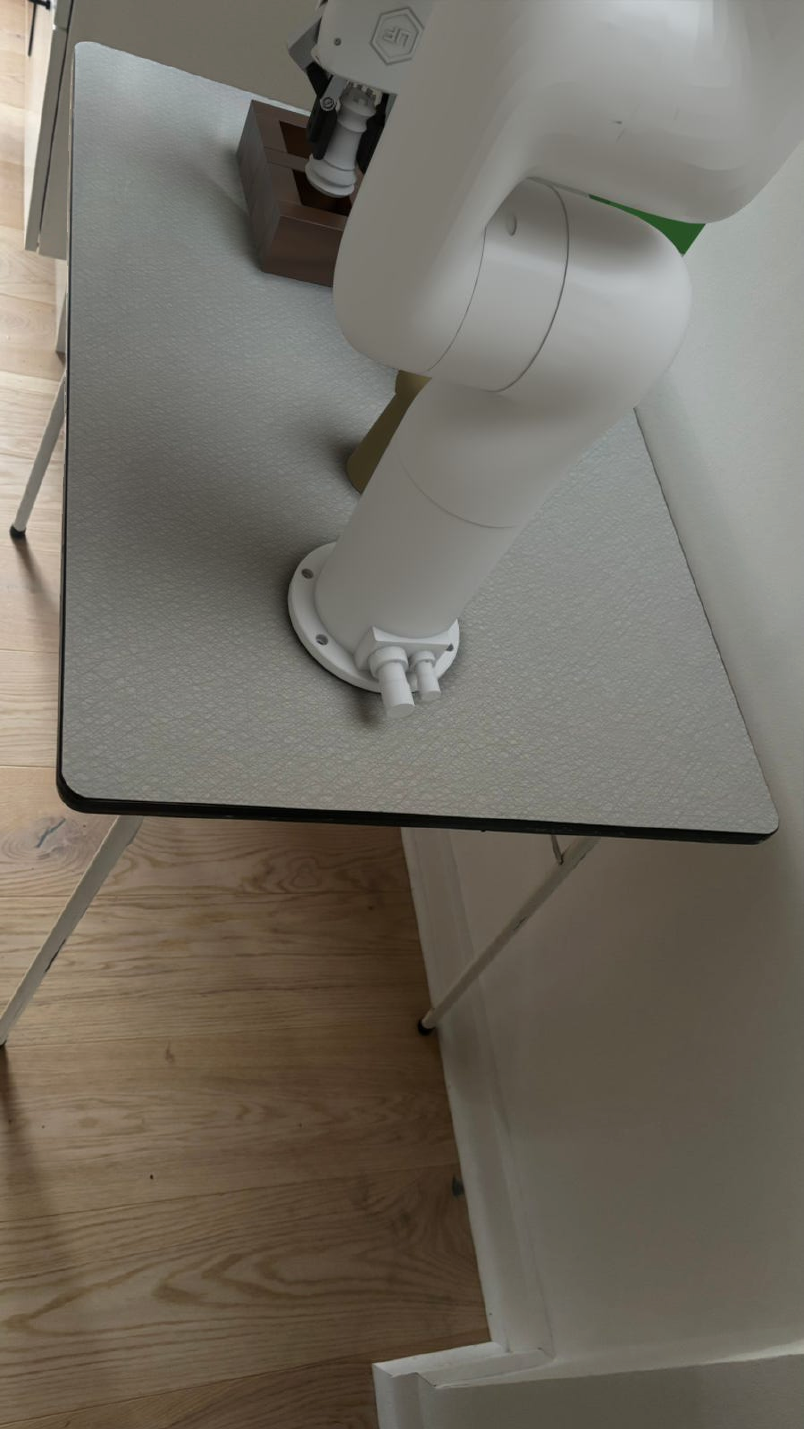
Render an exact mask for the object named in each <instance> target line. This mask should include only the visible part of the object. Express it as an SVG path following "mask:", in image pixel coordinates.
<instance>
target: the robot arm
mask: <svg viewBox="0 0 804 1429" xmlns="http://www.w3.org/2000/svg"><path fill="white" fill-rule="evenodd" d="M285 45H286V49H287V52H288V55H289V56H290V58H291V59H292V61H294V63H295V64H296V65H297V66H298V67H299V69H300V70H301V71H302V72H303V73H304V74H305V75H306V76H307V79H308V81H309V83H310V85H311V87H312V90H313V92H314V94H315V95H316V97H315V99H314V103H313V105H312V108H311V112H310V115H309V116H310V117H309V120H308V123H307V126H306V132H305V135H306V139H307V141H309V144H310V148H311V151H312V155H313V158H314V159H316V160H319V161H320V160H321V159H322V160H323V158H324V156H325V153H326V150H327V147H328V145H329V142H330V139H331V136H332V133H333V130H334V128H335V125H336V122H337V119H338V115H337V112H336V111H337V109H336V108H337V105H338V101H339V97H340V95H341V93H342V91H343V90H344V88H345V87H346V85H347V84H348V82H349V81H351V82H354V84H356V85H357V84H360V85H363V87H366V88H370V89H371V90H372V89H373V90H376V91H379V98H378V102H377V104H375V108H376V113H375V114H374V115H373V116H372V117H370V118H368V119H367V121H366V127H367V129H366V130H365V132H363V133H362V135H361V138H360V142H359V146H358V150H357V154H356V161H357V164H358V167H359V170H361V172H362V173H365V176H364V178H363V181H362V183H361V186H360V189H359V191H358V194H357V196H356V199H355V202H354V204H353V207H352V209H351V212H350V215H349V217H348V220H347V224H346V227H345V230H344V233H343V236H342V239H341V243H340V247H339V252H338V256H337V261H336V265H335V272H334V281H333V287H332V300H333V301H332V302H333V311H334V314H335V318H336V319H335V320H336V322H337V325H338V327H339V329H340V331H341V334H342V335H343V337H344V338H345V340H346V341H347V342H348V343H349V344H350V346H352V348H353V349H354V350H356V351H357V352H359V353H360V354H361V355H362V356H363V357H364V358H367V359H369V360H371V361H373V362H375V363H378V364H380V365H383V366H386V367H390V368H392V369H395V370H398V371H399V370H403V371H407V372H410V373H414V374H418V375H423V376H427V377H431V378H432V379H431V380H430V381H429V382H428V383H427V384H426V385H425V386H424V387H423V388H422V390H421V391H420V392H419V393H418V395H417V396H416V397H415V399H414V400H413V402H412V403H411V405H410V407H409V408H408V410H407V412H406V413H405V415H404V417H403V419H402V421H401V423H400V425H399V427H398V428H397V430H396V432H395V434H394V435H393V437H392V439H391V441H390V443H389V445H388V447H387V449H386V450H385V452H384V454H383V456H382V458H381V460H380V462H379V464H378V466H377V468H376V469H375V471H374V473H373V475H372V477H371V479H370V481H369V483H368V485H367V486H366V488H365V490H364V492H363V494H361V496H360V497H359V500H358V501H357V504H356V506H355V507H354V508H353V511H352V513H351V515H350V516H349V519H348V520H347V522H346V525H345V526H344V528H343V530H342V531H341V534H340V536H339V537H338V540H337V541H333V542H329V543H327V544H322V545H321V546H319V547H317V548H315V549H314V550H311V551H310V553H308V554H307V555H306V556H305V557H304V558H302V560H301V561H300V563H299V564H298V566H297V567H296V569H295V572H294V574H293V577H292V579H291V581H290V584H289V588H288V593H287V605H288V613H289V616H290V621H291V624H292V627H293V628H294V631H295V633H296V634H297V636H298V638H299V640H300V642H301V643H302V644H303V646H304V647H305V648H306V649H307V651H308V652H309V653H310V655H311V656H312V657H313V658H314V659H315V660H316V661H317V662H318V663H319V664H320V665H322V667H324V669H326V670H328V671H329V672H330V673H332V674H333V675H335V676H336V677H338V678H339V679H340V680H342V681H345V682H346V683H349V684H351V685H353V686H355V687H357V688H360V689H363V690H367V691H370V692H373V693H380V694H381V698H382V703H383V707H384V711H385V715H386V717H387V718H389V719H393V720H398V719H399V720H400V719H404V718H406V717H408V716H410V715H412V714H413V713H414V712H415V710H416V705H415V701H414V698H413V693H414V692H418V693H419V698H420V700H421V701H422V702H426V703H429V702H434V701H436V700H438V699H439V698H441V696H442V690H441V687H440V684H439V679H441V678H442V677H443V676H444V674H445V673H446V672H447V670H448V669H449V668H450V667H451V665H452V663H453V662H454V660H455V658H456V657H457V654H458V649H459V646H460V626H459V621H458V618H459V617H460V616H461V614H462V613H463V612H464V610H465V609H466V608H467V606H468V605H469V604H470V602H471V601H472V599H473V598H474V597H475V596H476V594H477V593H478V591H479V590H480V589H481V587H482V586H483V584H484V583H485V582H486V581H487V579H488V578H489V577H490V575H491V574H492V572H493V571H494V570H495V568H496V567H497V566H498V564H499V563H500V562H501V560H502V559H503V558H504V556H505V555H506V554H507V552H509V550H510V548H511V547H512V546H513V544H514V543H515V541H516V540H518V538H519V536H520V534H521V533H522V532H523V531H524V529H525V528H526V526H527V525H528V524H529V523H530V522H531V520H532V518H533V517H534V516H535V515H536V514H537V513H538V511H539V510H540V508H541V507H542V506H543V505H544V504H545V502H546V501H547V500H548V498H549V496H550V495H551V494H552V493H553V491H554V490H555V489H556V488H557V486H558V485H559V484H560V482H561V481H562V480H563V478H564V477H565V476H566V475H567V474H568V472H569V471H570V470H571V469H572V467H574V465H575V464H576V463H577V462H578V460H579V459H580V458H581V457H582V456H583V455H584V454H585V453H586V452H587V451H588V450H589V449H591V447H593V445H594V444H595V443H596V442H597V441H598V440H599V439H600V438H602V436H604V434H606V433H607V432H608V431H609V430H610V429H612V428H613V427H614V426H615V425H617V423H619V421H621V420H622V419H623V418H624V417H626V416H627V415H628V414H629V413H630V412H631V411H632V410H634V409H635V407H637V406H638V405H639V404H640V403H641V402H643V400H644V399H645V398H646V397H647V396H648V395H649V394H650V393H651V392H652V391H653V389H654V388H656V386H657V385H658V384H659V383H660V381H661V380H662V379H663V377H664V376H665V375H666V373H667V372H668V371H669V369H670V368H671V367H672V365H673V363H674V361H675V359H676V358H677V355H678V353H679V352H680V350H681V349H682V348H681V347H682V345H683V343H684V341H685V338H686V336H687V332H688V329H689V325H690V320H691V315H692V308H693V288H692V282H691V278H690V273H689V270H688V268H687V265H686V262H685V261H684V258H682V257H681V255H680V253H679V252H678V250H677V249H676V247H675V246H674V245H673V244H672V242H671V241H670V240H669V239H668V238H667V237H666V236H665V235H664V234H663V233H661V232H660V231H659V230H658V229H656V228H655V227H653V226H652V225H650V224H649V223H647V222H645V221H644V220H642V219H640V218H639V217H637V216H634V215H632V214H630V213H628V212H625V211H623V210H621V209H619V208H616V207H613V206H611V205H608V204H605V203H602V202H599V201H596V200H593V199H590V198H587V197H584V196H581V195H578V194H575V193H572V192H569V191H566V190H563V189H560V188H557V187H554V186H551V185H548V184H545V183H539V182H536V181H533V180H530V179H527V177H540V178H543V179H546V180H549V181H552V182H555V183H558V184H561V185H565V186H567V187H570V188H573V189H576V190H579V191H582V192H585V193H588V194H591V195H594V196H597V197H600V198H603V199H606V200H609V201H612V202H615V203H618V204H621V205H624V206H627V207H630V208H633V209H636V210H639V211H643V212H646V213H649V214H653V215H657V216H660V217H664V218H668V219H672V220H677V221H682V222H686V223H704V224H705V223H706V224H712V223H713V224H714V223H717V222H721V221H723V220H726V219H729V218H731V217H732V216H734V215H736V214H737V213H739V212H740V211H741V210H743V208H745V207H746V206H747V205H748V204H750V203H751V202H752V201H753V200H754V199H755V198H756V197H757V196H758V195H759V194H760V193H761V191H763V189H764V188H765V187H766V186H767V185H768V183H769V182H770V181H771V180H772V179H773V178H774V176H775V175H776V174H778V172H779V171H780V169H781V168H782V167H783V165H784V164H786V162H787V160H788V159H789V158H790V156H791V155H792V154H793V153H794V152H795V150H796V149H797V148H798V147H799V145H800V144H801V142H802V141H803V140H804V0H318V1H317V3H316V7H315V10H314V12H313V13H312V14H311V15H310V16H309V17H308V18H307V19H306V20H304V22H303V23H302V24H301V25H299V26H298V27H297V28H296V29H295V30H294V31H293V33H291V34H290V35H289V36H288V37H287V39H286V41H285ZM315 46H316V55H317V56H316V55H315V54H314V53H313V51H312V50H313V48H314V47H315Z"/></svg>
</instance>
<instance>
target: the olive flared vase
mask: <svg viewBox="0 0 804 1429" xmlns="http://www.w3.org/2000/svg"><path fill="white" fill-rule="evenodd" d="M431 379H432V378H431V377H427V376H423V375H418V374H414V373H410V372H407V371H403V370H399V369H398V372H397V374H396V376H395V382H394V395H393V397H392V398H391V399H390V401H389V402H388V403H387V405H386V406H385V408H384V409H383V411H382V412H381V413H380V415H379V416H378V418H377V419H376V420H375V422H374V423H373V424H372V426H371V427H370V428H369V430H368V432H366V434H365V436H364V437H363V438H362V440H361V441H360V442H359V444H358V445H357V447H356V448H355V449H354V451H353V452H352V454H351V455H350V457H349V458H348V460H347V461H346V473H347V476H348V480H349V481H350V482H351V484H352V485H353V487H354V488H355V489H356V491H358V492H359V493H360V494H361V495H362V494H363V492H364V490H365V488H366V486H367V485H368V483H369V481H370V479H371V477H372V475H373V473H374V471H375V469H376V468H377V466H378V464H379V462H380V460H381V458H382V456H383V454H384V452H385V450H386V449H387V447H388V445H389V443H390V441H391V439H392V437H393V435H394V434H395V432H396V430H397V428H398V427H399V425H400V423H401V421H402V419H403V417H404V415H405V413H406V412H407V410H408V408H409V407H410V405H411V403H412V402H413V400H414V399H415V397H416V396H417V395H418V393H419V392H420V391H421V390H422V388H423V387H424V386H425V385H426V384H427V383H428V382H429V381H430V380H431Z"/></svg>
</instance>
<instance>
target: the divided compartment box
mask: <svg viewBox="0 0 804 1429" xmlns="http://www.w3.org/2000/svg"><path fill="white" fill-rule="evenodd" d="M309 117H310V115H307V114H303V113H300V112H297V111H293V110H290V109H286V108H284V107H283V108H282V107H280V106H277V105H273V104H270V103H266V102H263V101H260V100H257V99H253V98H252V99H251V100H250V103H249V106H248V111H247V114H246V117H245V121H244V124H243V128H242V132H241V136H240V139H239V142H238V146H237V149H236V153H235V160H236V164H237V168H238V173H239V177H240V181H241V185H242V190H243V194H244V198H245V199H244V200H245V203H246V207H247V211H248V215H249V220H250V225H251V230H252V233H253V237H254V241H255V248H256V251H257V255H258V259H259V262H260V263H259V264H260V268H261V272H263V273H268V274H271V275H276V276H281V277H286V278H289V279H290V278H291V279H295V280H298V281H304V282H308V283H312V284H317V285H321V286H325V287H326V286H327V287H330V288H333V281H334V272H335V265H336V261H337V256H338V252H339V247H340V243H341V239H342V236H343V233H344V230H345V227H346V224H347V220H348V217H349V215H350V212H351V209H352V207H353V204H354V202H355V199H356V196H357V194H358V191H359V189H360V186H361V183H362V181H363V178H364V176H365V173H362V172H361V170H359V167H358V164H357V166H356V168H357V174H358V176H357V180H356V182H355V183H354V190H353V192H352V193H351V194H349V195H348V196H346V197H342V198H336V197H331V196H328V195H326V194H324V193H322V192H320V191H318V190H317V189H316V188H315V187H314V186H313V185H311V183H310V182H309V180H308V178H307V175H306V171H305V166H306V165H307V163H308V162H310V160H309V157H310V155H311V154H312V151H311V148H310V144H309V141H307V139H306V135H305V132H306V126H307V123H308V120H309Z"/></svg>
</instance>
